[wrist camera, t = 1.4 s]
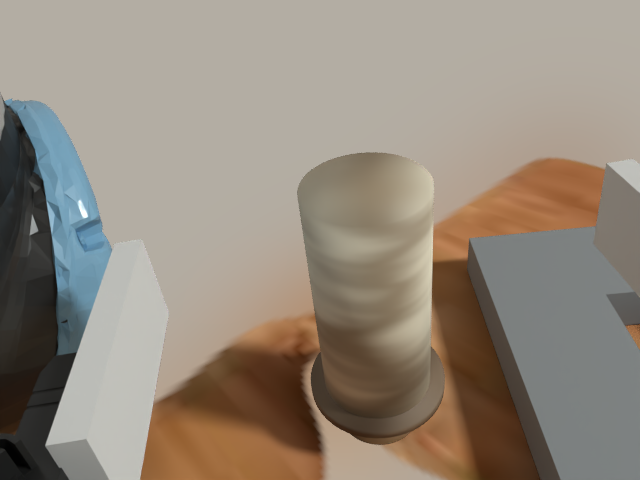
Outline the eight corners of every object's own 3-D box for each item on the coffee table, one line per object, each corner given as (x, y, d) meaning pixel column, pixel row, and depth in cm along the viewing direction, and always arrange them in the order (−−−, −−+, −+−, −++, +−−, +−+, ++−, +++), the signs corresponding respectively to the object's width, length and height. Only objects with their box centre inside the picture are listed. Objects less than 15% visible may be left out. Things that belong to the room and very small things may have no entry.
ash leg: (318, 471, 33) (276, 247, 23) (315, 366, 39) (281, 153, 29) (454, 461, 32) (471, 228, 23) (430, 356, 38) (435, 137, 29)
